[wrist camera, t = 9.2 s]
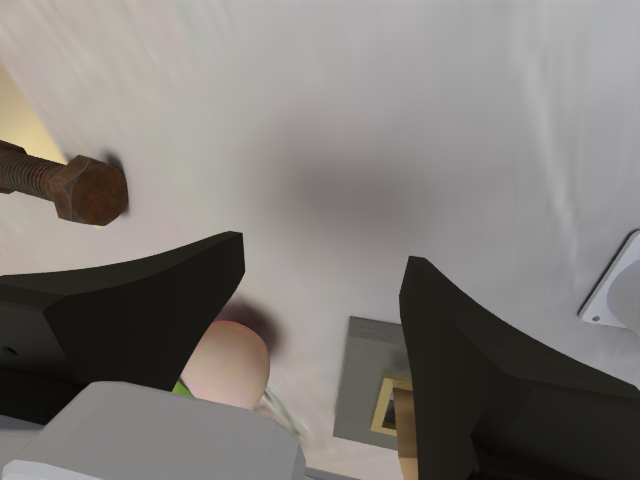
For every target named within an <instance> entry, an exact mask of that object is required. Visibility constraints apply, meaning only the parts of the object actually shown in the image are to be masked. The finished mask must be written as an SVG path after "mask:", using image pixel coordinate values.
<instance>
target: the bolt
mask: <svg viewBox="0 0 640 480" xmlns="http://www.w3.org/2000/svg"><path fill="white" fill-rule="evenodd" d="M14 191H18V192H21V193H25V194H28V195H32V196H36V197H39V198H42V199H45V200H48V201H52V202H54V204H55V207H56V211H57V214H58V217H59V218H61V219H65V220H68V221H72V222H77V223H83V224H89V225H98V226H106V225H107V224H109V223H110V222H112V221H113V220H115V219H116V218H117V217H118V216H119V215H120V214H121V213H122V212H123V210H124V208H125V206H126V203H127V199H128V190H127V183H126V179H125V177H124V175H123V173H122V170H120V169H118V168H116V167H114V166H111V165H109V164H106V163H103V162H101V161H98V160H95V159H92V158H89V157H85V156H81V155H78V156H77V157H75V158H74V159H73V160H72V161H71V162H70V163H68V164H67V165H64V164H60V163H57V162H53V161H50V160H45V159H42V158H38V157H34V156H31V155H28V154H27V153H26V151H25V149H24V148H22V147H19V146H16V145H14V144H11V143H8V142H5V141H2V140H0V193H5V194H10V193H12V192H14Z"/></svg>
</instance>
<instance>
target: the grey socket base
mask: <svg viewBox="0 0 640 480" xmlns="http://www.w3.org/2000/svg"><path fill="white" fill-rule="evenodd" d="M393 387H395V388H400V389H406V390H411V391H413V388H412V377H411V370H410V364H409V359H408V354H407V349H406V344H405V339H404V334H403V329H402V325H398V324H392V323H386V322H380V321H374V320H368V319H362V318H356V317H350V322H349V329H348V335H347V342H346V348H345V355H344V361H343V368H342V374H341V381H340V387H339V394H338V400H337V407H336V413H335V421H334V430H333V436H334V437H338V438H343V439H347V440H352V441H356V442H361V443H365V444H370V445H374V446H379V447H383V448H388V449H392V450H397V451H398V444H397V432H396V419H395V407H394V401H390V396H391V393H392V390H393Z"/></svg>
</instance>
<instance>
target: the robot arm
mask: <svg viewBox="0 0 640 480" xmlns="http://www.w3.org/2000/svg"><path fill="white" fill-rule="evenodd" d="M244 273H245V260H244V246H243V233H240V232H233V231H228V232H223V233H220V234H217V235H214V236H211V237H208V238H205V239H202V240H200V241H197V242H194V243H191V244H188V245H185V246H182V247H179V248H176V249H173V250H170V251H167V252H164V253H160V254H157V255H153V256H149V257H145V258H141V259H137V260H132V261H127V262H122V263H116V264H111V265H105V266H100V267H93V268H85V269H77V270H68V271H59V272H47V273H32V274H17V275H3V276H0V480H360V479H356V478H352V477H348V476H344V475H339V474H335V473H331V472H327V471H323V470H319V469H314V468H310V467H306V459H305V457H304V454H303V452H302V449H301V446H300V444H299V441H298V440H297V438H296V437H295V435H293V434H292V433H291V432H290V431H289V430H287V429H286V428H285V427H284V426H282V425H281V424H280V423H279V422H278V421H276V420H275V419H272V418H270V417H267V416H265V415H262V414H259V413H257V412H254V411H252V410H249V409H245V408H241V407H236V406H232V405H227V404H223V403H218V402H213V401H209V400H204V399H200V398H195V397H191V396H186V395H182V394H177V393H172V391H173V389H174V387H175V385H176V383H177V381H178V379H179V377H180V375H181V374H182V372H183V370H184V368H185V366H186V364H187V363H188V361H189V359H190V357H191V355H192V354H193V352H194V350H195V348H196V347H197V345H198V343H199V341H200V340H201V338H202V336H203V335H204V333H205V332H206V330H207V329H208V328H209V326H210V325H211V323H212V322H213V321H214V319H215V318H216V317H217V315H218V314H219V313H220V311H221V310H222V309H223V307H224V306H225V304H226V303H227V302H228V300H229V299H230V298H231V296H232V295H233V293H234V292H235V290H236V289H237V287H238V285H239V283H240V282H241V280H242V277H243V275H244ZM399 304H400V318H401V323H402V329H403V334H404V339H405V344H406V349H407V354H408V359H409V364H410V370H411V377H412V388H413V399H414V412H415V427H416V444H417V462H418V480H640V390H639V389H638V388H637V387H635V386H634V385H632V384H629V383H627V382H625V381H622V380H620V379H618V378H615V377H613V376H611V375H609V374H606V373H604V372H602V371H599V370H597V369H595V368H592V367H590V366H588V365H586V364H583V363H581V362H579V361H577V360H575V359H573V358H571V357H569V356H567V355H565V354H562V353H560V352H558V351H556V350H554V349H552V348H550V347H548V346H547V345H545V344H543V343H541V342H539V341H537V340H535V339H533V338H532V337H530V336H528V335H526V334H525V333H523V332H521V331H519V330H518V329H516V328H514V327H513V326H511V325H509V324H508V323H506V322H504V321H503V320H501V319H500V318H498V317H497V316H495V315H494V314H492V313H491V312H489V311H488V310H486V309H485V308H484V307H482V306H481V305H479V304H478V303H477V302H475V301H474V300H473V299H472V298H470V297H469V296H468V295H467V294H465V293H464V292H463V291H462V290H460V289H459V288H458V287H457V286H456V285H455V284H453V283H452V282H451V281H450V280H449V279H448V278H447V277H446V276H445V275H443V274H442V273H441V272H440V271H439V270H438V269H437V268H436V267H435V266H434V265H433V264H432V263H430V262H429V261H428V260H427V259H426V258H423V257H415V256H409V258H408V262H407V266H406V270H405V274H404V278H403V282H402V286H401V290H400V294H399ZM595 316H596V317H595ZM593 317H594V318H593ZM579 318H580V319H581V320H582V321H584V322H589V323H595V324H602V325H608V326H615V327H621V328H628V329H630V330H631V331H632V332H633V333H635V334H636V335H637V336H638V337H639V338H640V230H639V231H636V232H634V233H633V234H632V235H631V236H630V238H629V239H628V241H627V242H626V244H625V245H624V247H623V248H622V250H621V251H620V253H619V254H618V256H617V257H616V259H615V260H614V262H613V263H612V265H611V266H610V268H609V269H608V271H607V272H606V274H605V276H604V277H603V279H602V280H601V282H600V283H599V285H598V286H597V288H596V289H595V291H594V292H593V294H592V295H591V297H590V298H589V300H588V301H587V303H586V304H585V306H584V307H583V309H582V310H581V312H580V313H579Z"/></svg>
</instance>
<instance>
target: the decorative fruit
mask: <svg viewBox="0 0 640 480" xmlns="http://www.w3.org/2000/svg"><path fill="white" fill-rule="evenodd" d="M269 373H270V359H269V353H268V349H267V347H266V345H265V343H264V342H263V340H262V339H261V338H260V337H259V336H258V335H257V334H256V333H255V332H254V331H253V330H251V329H250V328H248V327H246V326H244V325H242V324H239V323H237V322H233V321H227V320H220V321H214V322H212V323H211V325H210V326H209V328H208V329H207V330H206V332H205V333H204V335H203V336H202V338H201V340H200V341H199V343H198V345H197V347H196V348H195V350H194V352H193V354H192V355H191V357H190V359H189V361H188V363H187V364H186V366H185V368H184V370H183V372H182V374H181V375H180V377H179V379H178V381H177V383H176V385H175V387H174V389H173V391H172V393H177V394H182V395H186V396H191V397H195V398H200V399H204V400H209V401H213V402H218V403H223V404H227V405H232V406H236V407H241V408H245V409H249V410H253V409H254V408H255V406H256V405H257V404H258V402H259V401H260V399H261V397H262V395H263V393H264V391H265V389H266V386H267V383H268V379H269Z"/></svg>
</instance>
